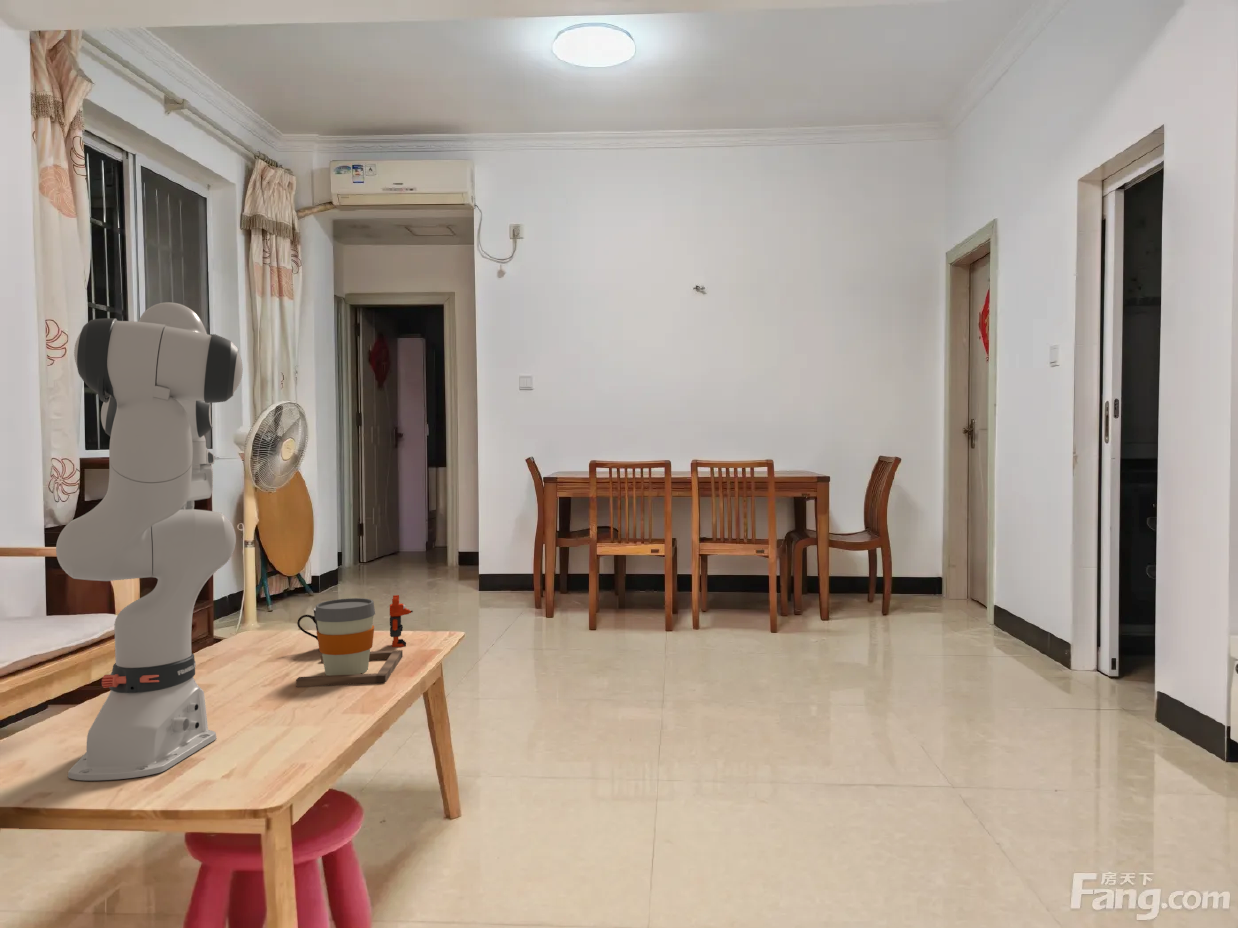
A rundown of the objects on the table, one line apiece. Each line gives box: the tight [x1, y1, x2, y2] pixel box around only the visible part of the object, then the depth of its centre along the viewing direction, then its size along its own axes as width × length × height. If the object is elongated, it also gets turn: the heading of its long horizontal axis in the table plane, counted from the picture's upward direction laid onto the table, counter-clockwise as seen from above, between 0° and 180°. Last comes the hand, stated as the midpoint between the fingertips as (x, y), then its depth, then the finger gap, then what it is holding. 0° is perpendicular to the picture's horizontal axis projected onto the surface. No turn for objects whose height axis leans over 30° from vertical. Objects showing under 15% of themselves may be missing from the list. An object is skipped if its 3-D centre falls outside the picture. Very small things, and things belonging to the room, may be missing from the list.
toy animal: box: [389, 594, 414, 648], centre depth 200 cm, size 8×6×12 cm
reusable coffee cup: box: [315, 597, 376, 676], centre depth 177 cm, size 13×13×15 cm
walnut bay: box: [295, 649, 404, 688], centre depth 177 cm, size 21×18×2 cm
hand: (184, 523), depth 165 cm, fingers closed
